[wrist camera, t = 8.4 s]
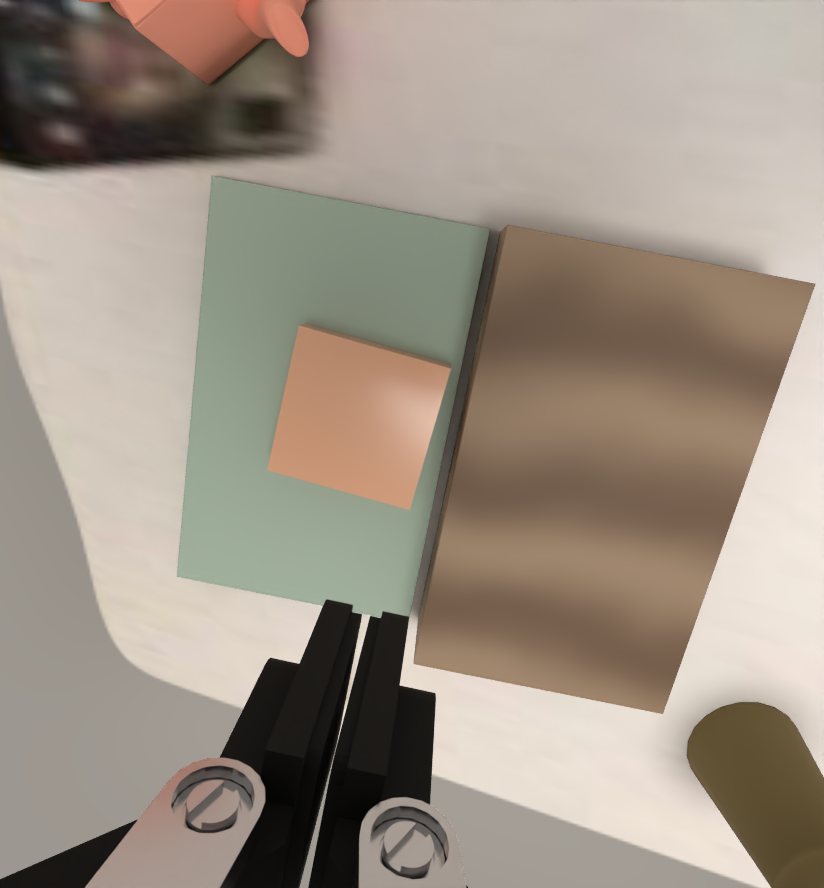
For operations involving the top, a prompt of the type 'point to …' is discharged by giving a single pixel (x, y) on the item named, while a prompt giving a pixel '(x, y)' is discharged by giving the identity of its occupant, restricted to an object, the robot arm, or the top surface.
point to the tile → (357, 415)
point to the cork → (764, 789)
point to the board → (599, 463)
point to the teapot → (215, 29)
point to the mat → (265, 375)
